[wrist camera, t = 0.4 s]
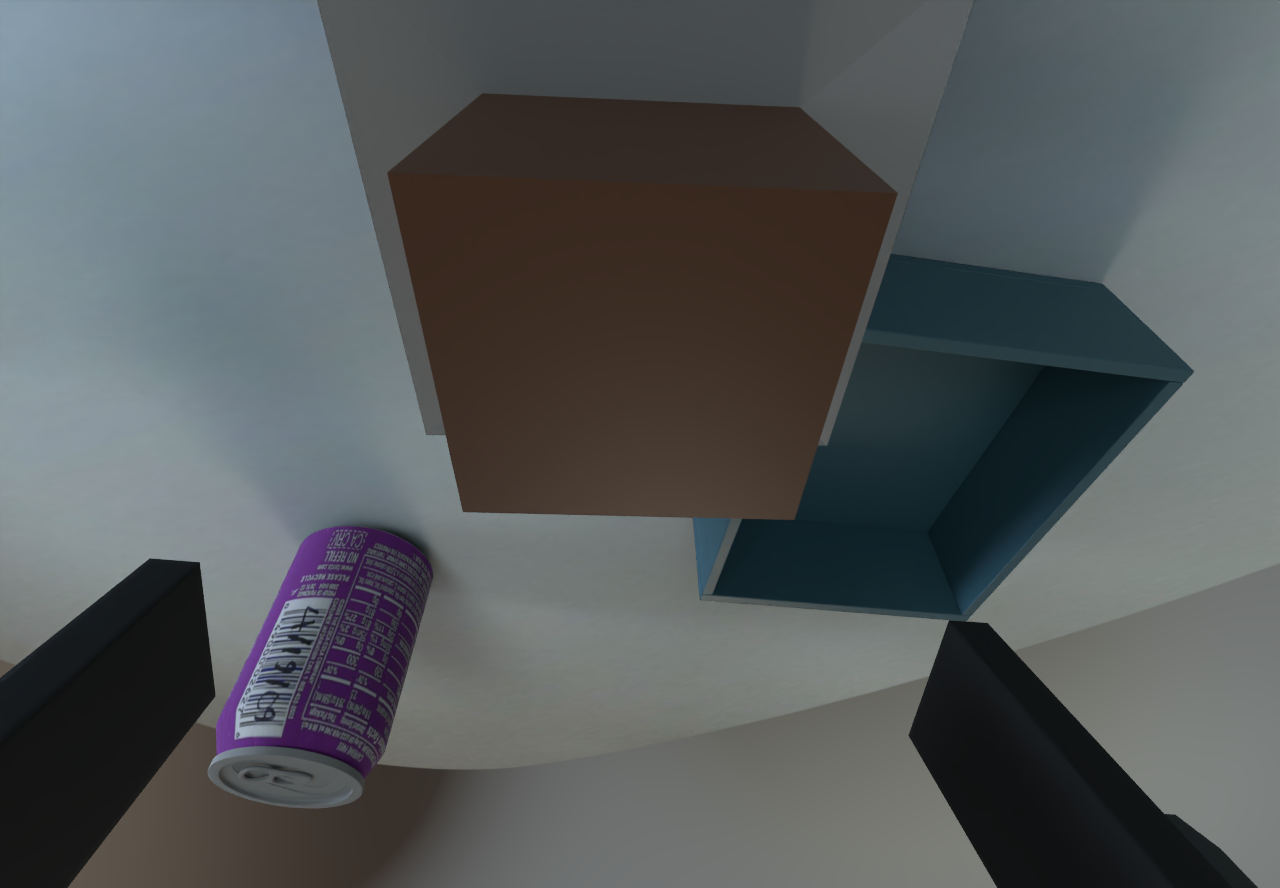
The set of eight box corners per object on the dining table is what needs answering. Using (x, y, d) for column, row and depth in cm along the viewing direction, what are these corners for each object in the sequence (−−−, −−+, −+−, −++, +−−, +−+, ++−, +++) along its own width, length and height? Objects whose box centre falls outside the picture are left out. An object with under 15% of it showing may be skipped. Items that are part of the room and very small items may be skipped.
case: (774, 237, 23) (804, 321, 19) (1103, 283, 25) (1195, 371, 21) (691, 507, 33) (699, 600, 29) (927, 530, 35) (966, 622, 31)
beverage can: (287, 563, 37) (178, 790, 28) (328, 495, 33) (216, 735, 24) (406, 604, 40) (341, 822, 31) (457, 546, 36) (399, 777, 27)
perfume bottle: (776, -163, 16) (1391, -168, 3) (737, 125, 21) (910, 619, 8) (505, -178, 16) (-118, -258, 3) (526, 116, 21) (331, 608, 7)
